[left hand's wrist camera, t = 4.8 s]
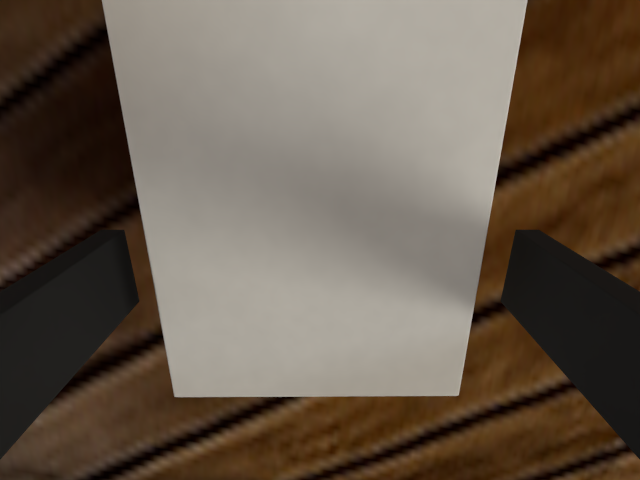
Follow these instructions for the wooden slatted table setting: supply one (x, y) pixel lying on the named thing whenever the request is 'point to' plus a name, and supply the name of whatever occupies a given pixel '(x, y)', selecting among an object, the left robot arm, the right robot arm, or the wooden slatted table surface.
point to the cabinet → (315, 185)
